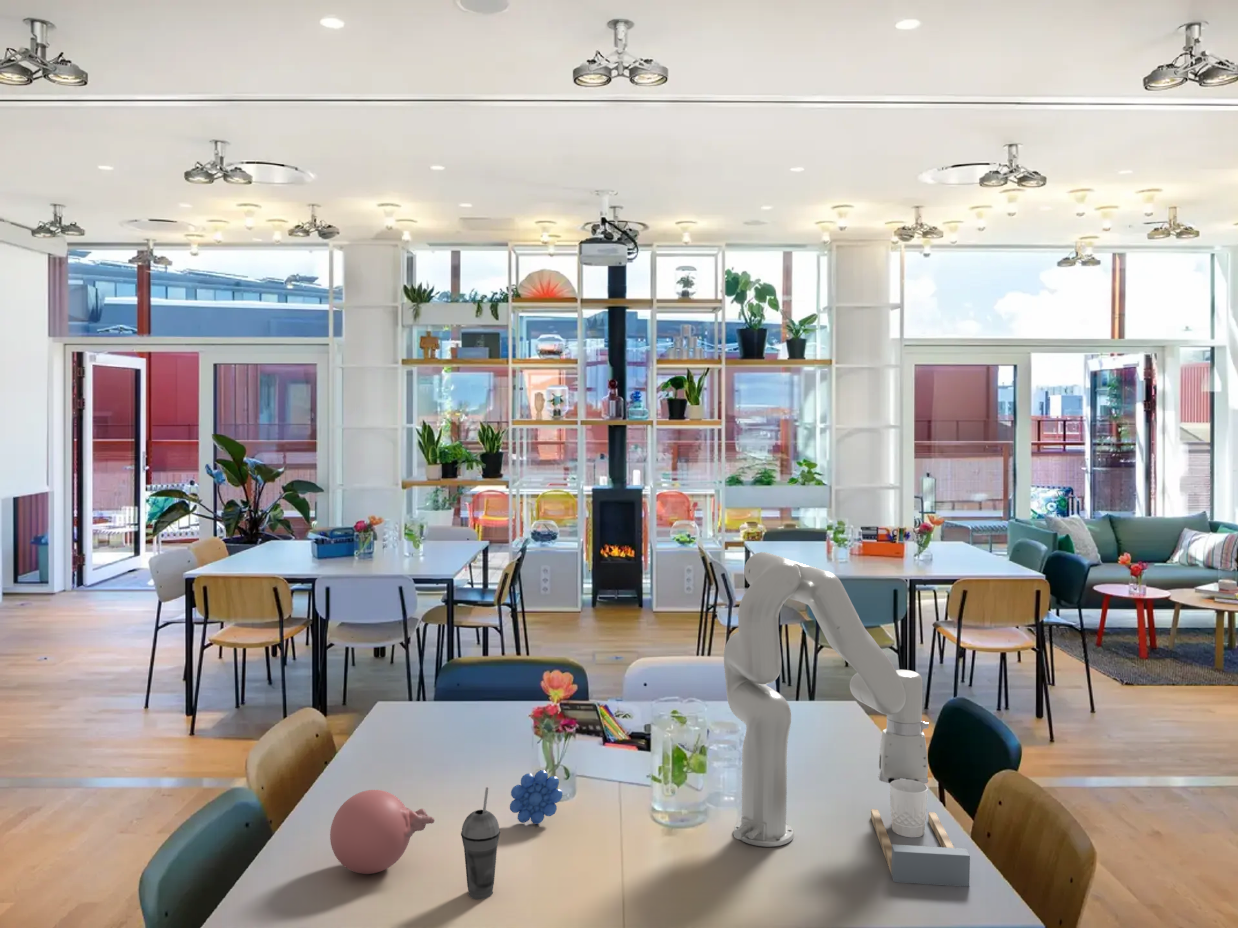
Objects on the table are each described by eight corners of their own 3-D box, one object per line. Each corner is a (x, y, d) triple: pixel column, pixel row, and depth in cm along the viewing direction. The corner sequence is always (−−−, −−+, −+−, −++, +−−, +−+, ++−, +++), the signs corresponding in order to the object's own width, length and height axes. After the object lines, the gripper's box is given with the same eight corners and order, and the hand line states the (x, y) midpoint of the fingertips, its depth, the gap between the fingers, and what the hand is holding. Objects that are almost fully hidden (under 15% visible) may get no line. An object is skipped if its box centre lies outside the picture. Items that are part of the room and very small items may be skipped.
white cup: (929, 840, 198) (930, 794, 197) (890, 836, 199) (891, 790, 199) (924, 825, 205) (925, 780, 205) (887, 821, 207) (888, 777, 206)
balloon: (428, 887, 176) (427, 807, 175) (320, 889, 175) (320, 808, 175) (439, 850, 191) (439, 777, 191) (341, 852, 190) (341, 778, 190)
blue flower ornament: (563, 815, 209) (564, 763, 209) (561, 828, 202) (561, 774, 202) (512, 815, 209) (512, 762, 209) (508, 828, 202) (508, 773, 202)
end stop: (969, 886, 178) (969, 855, 177) (894, 881, 179) (894, 851, 179) (965, 878, 180) (966, 848, 180) (891, 874, 182) (891, 844, 182)
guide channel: (965, 878, 180) (965, 868, 180) (891, 874, 182) (891, 864, 182) (935, 821, 207) (935, 812, 207) (870, 817, 209) (871, 808, 209)
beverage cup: (462, 884, 177) (462, 780, 177) (501, 882, 178) (501, 779, 177) (459, 903, 170) (459, 795, 169) (499, 902, 171) (499, 794, 170)
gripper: (934, 722, 211) (933, 802, 211) (867, 720, 212) (866, 799, 213) (942, 733, 203) (940, 816, 204) (872, 730, 205) (871, 812, 206)
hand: (902, 807), depth 208 cm, fingers closed
